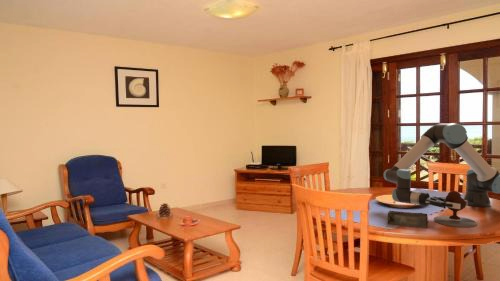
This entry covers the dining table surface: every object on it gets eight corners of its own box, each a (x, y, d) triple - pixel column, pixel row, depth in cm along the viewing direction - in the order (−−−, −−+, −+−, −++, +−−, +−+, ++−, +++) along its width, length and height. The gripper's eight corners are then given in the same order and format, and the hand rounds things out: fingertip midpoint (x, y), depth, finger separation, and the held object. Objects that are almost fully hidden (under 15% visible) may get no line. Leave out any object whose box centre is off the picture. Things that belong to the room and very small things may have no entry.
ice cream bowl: (470, 221, 189) (470, 192, 188) (446, 220, 191) (447, 192, 190) (462, 216, 199) (463, 189, 198) (440, 215, 201) (440, 188, 200)
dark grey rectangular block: (388, 220, 199) (388, 208, 199) (427, 225, 191) (428, 212, 190) (387, 224, 192) (387, 212, 192) (427, 229, 183) (427, 216, 183)
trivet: (470, 218, 202) (470, 217, 202) (482, 228, 183) (482, 227, 183) (430, 216, 207) (430, 214, 207) (437, 225, 188) (438, 224, 188)
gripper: (428, 202, 216) (470, 208, 200) (411, 208, 200) (456, 215, 184) (428, 189, 215) (470, 194, 199) (412, 194, 199) (456, 201, 183)
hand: (463, 204), depth 192 cm, fingers closed on ice cream bowl, 11 cm apart
